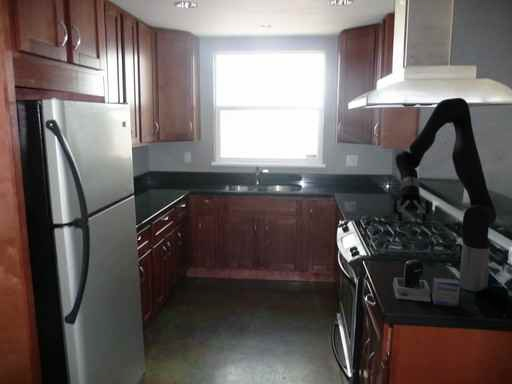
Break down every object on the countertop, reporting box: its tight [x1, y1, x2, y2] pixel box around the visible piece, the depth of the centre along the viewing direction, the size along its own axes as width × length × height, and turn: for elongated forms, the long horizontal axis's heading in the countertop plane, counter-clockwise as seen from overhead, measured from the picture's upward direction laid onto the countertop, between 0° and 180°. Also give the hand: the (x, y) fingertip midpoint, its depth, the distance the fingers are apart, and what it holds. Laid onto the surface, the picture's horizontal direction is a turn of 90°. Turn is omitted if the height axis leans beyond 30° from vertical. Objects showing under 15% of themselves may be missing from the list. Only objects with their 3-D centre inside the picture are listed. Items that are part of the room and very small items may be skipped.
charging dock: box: [392, 277, 432, 302], centre depth 156 cm, size 12×13×4 cm
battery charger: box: [402, 259, 424, 289], centre depth 155 cm, size 7×4×11 cm, turn 112°
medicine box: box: [431, 277, 461, 307], centre depth 147 cm, size 8×4×9 cm, turn 80°
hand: (412, 222), depth 167 cm, fingers open, 8 cm apart
